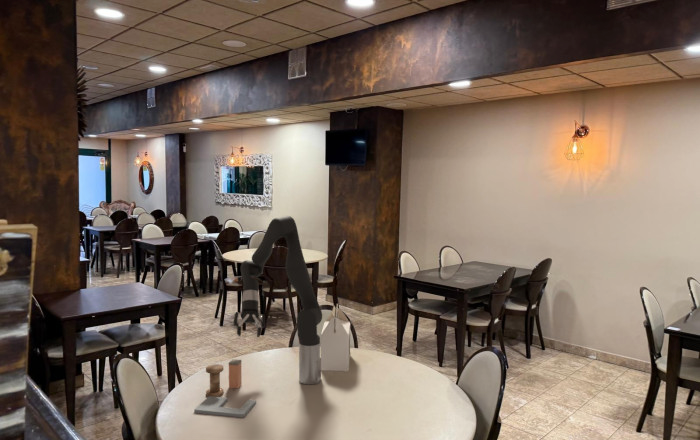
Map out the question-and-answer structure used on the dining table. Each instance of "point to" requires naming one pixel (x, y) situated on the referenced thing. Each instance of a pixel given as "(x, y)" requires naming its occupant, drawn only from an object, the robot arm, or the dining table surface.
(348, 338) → the gable box
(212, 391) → the bobbin
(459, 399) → the dining table surface
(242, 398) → the dining table surface
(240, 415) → the notched board
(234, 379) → the orange tall block
